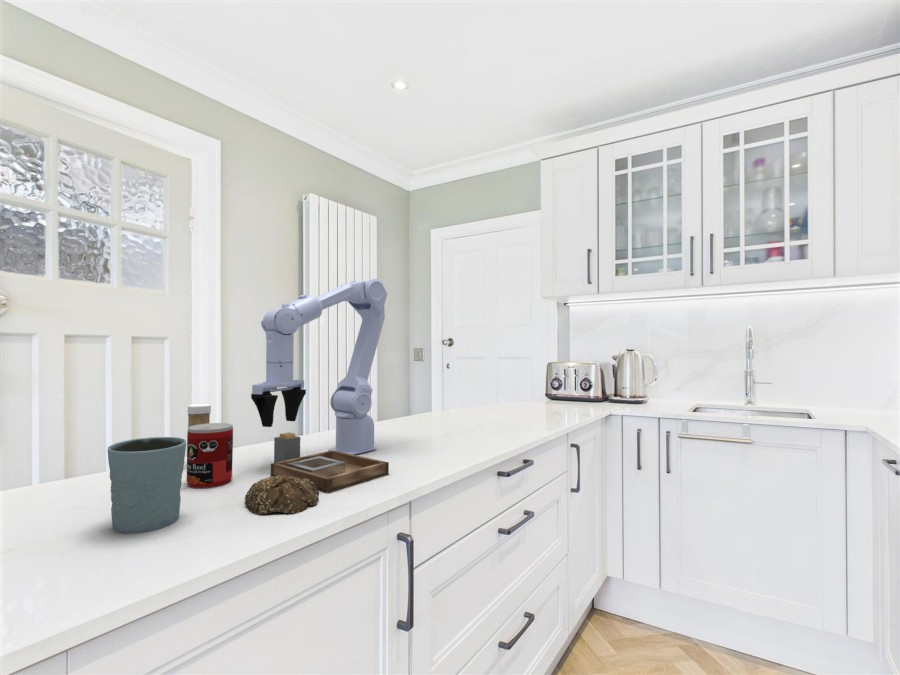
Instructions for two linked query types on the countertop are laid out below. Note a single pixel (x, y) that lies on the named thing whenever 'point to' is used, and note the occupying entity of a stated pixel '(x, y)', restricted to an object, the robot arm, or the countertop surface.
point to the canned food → (209, 455)
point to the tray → (355, 473)
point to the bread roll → (281, 495)
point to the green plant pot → (146, 483)
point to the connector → (286, 447)
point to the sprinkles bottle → (198, 414)
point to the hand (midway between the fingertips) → (279, 423)
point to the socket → (320, 466)
